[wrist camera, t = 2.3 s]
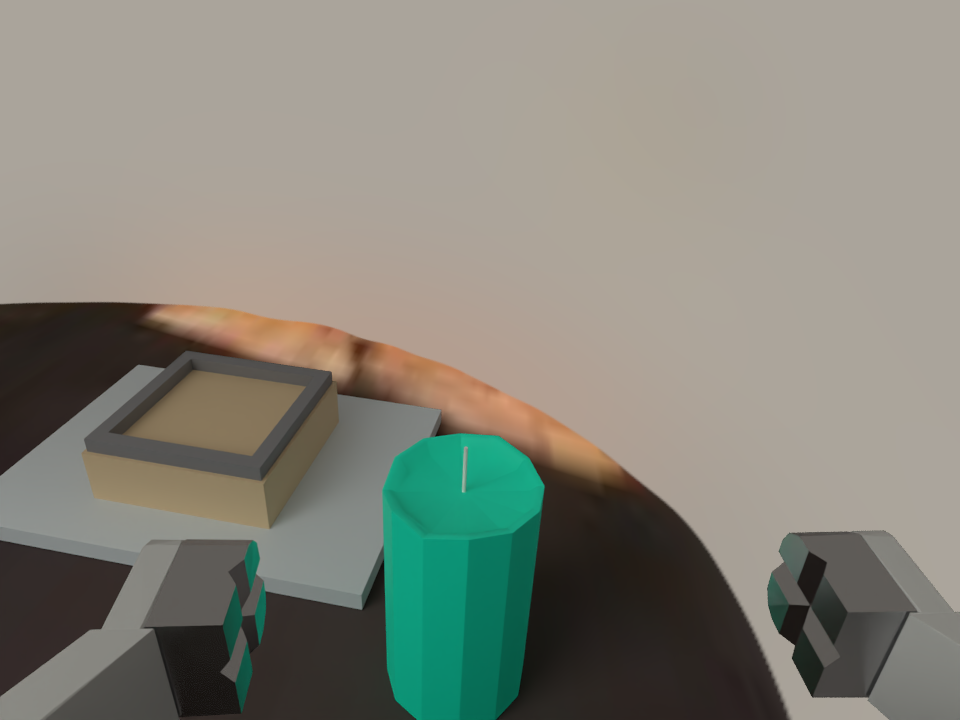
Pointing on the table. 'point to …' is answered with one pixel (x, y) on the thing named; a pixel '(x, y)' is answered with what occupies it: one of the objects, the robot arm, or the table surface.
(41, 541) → the board
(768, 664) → the table surface
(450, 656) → the candle
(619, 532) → the table surface
